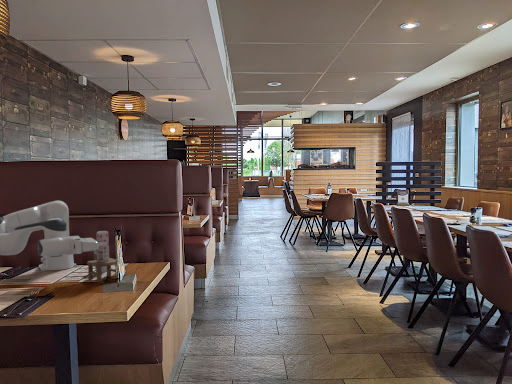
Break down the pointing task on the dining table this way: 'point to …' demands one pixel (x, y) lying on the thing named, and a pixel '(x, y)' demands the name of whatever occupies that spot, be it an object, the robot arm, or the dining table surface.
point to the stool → (99, 265)
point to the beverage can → (103, 250)
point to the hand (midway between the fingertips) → (105, 242)
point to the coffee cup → (103, 269)
